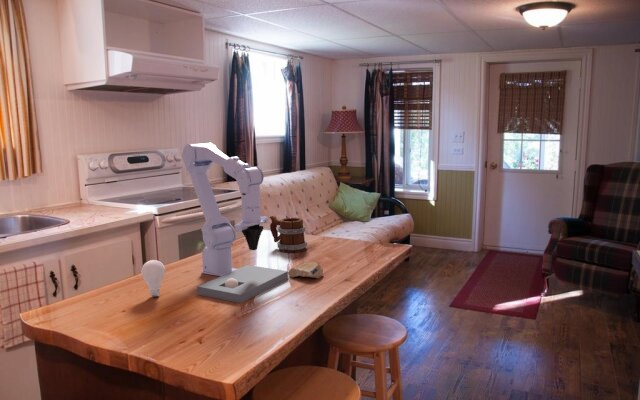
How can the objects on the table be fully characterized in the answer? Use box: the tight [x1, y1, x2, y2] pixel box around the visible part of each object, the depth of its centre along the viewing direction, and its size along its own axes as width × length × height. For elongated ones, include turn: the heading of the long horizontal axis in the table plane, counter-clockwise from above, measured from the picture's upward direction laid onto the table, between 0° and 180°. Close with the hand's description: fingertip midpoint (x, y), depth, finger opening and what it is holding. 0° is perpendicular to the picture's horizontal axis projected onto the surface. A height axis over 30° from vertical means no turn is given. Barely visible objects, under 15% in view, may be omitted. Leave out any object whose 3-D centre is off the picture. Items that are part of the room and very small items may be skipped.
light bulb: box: [140, 259, 166, 298], centre depth 148 cm, size 7×7×11 cm
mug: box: [269, 215, 308, 254], centre depth 198 cm, size 12×14×15 cm
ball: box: [225, 278, 238, 288], centre depth 151 cm, size 4×4×4 cm
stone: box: [288, 261, 324, 279], centre depth 164 cm, size 8×10×4 cm
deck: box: [196, 264, 289, 304], centre depth 156 cm, size 16×24×2 cm, turn 150°
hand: (253, 249), depth 159 cm, fingers closed
